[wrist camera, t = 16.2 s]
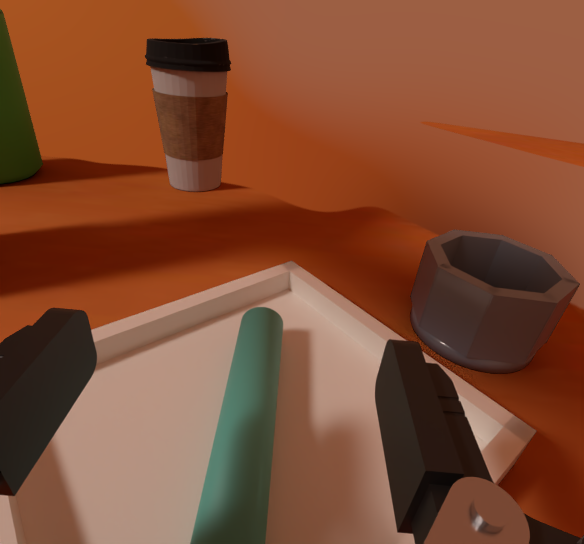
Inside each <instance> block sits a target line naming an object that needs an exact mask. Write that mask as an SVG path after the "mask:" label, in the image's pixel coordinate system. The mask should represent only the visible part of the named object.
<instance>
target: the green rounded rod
mask: <svg viewBox="0 0 584 544" xmlns="http://www.w3.org/2000/svg"><path fill="white" fill-rule="evenodd" d="M282 335H283V320H282V318H281V316H280V315H279V314H278V313H277V312H276V311H274V310H272V309H270V308H266V307H255V308H252V309H250V310H248V311H247V312H245V314H244V315H243V317H242V320H241V324H240V328H239V333H238V337H237V341H236V346H235V350H234V355H233V359H232V363H231V368H230V372H229V376H228V381H227V385H226V389H225V394H224V398H223V403H222V407H221V411H220V416H219V420H218V424H217V429H216V433H215V437H214V442H213V446H212V451H211V455H210V459H209V464H208V468H207V472H206V477H205V481H204V486H203V490H202V494H201V499H200V503H199V507H198V512H197V516H196V520H195V525H194V529H193V534H192V538H191V542H190V544H265V541H266V529H267V516H268V504H269V492H270V480H271V468H272V456H273V444H274V432H275V420H276V407H277V395H278V383H279V371H280V359H281V347H282Z"/></svg>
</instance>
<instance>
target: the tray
mask: <svg viewBox="0 0 584 544" xmlns="http://www.w3.org/2000/svg"><path fill="white" fill-rule="evenodd" d="M255 307H266V308H270V309H272V310H274V311H276V312H277V313H278V314H279V315H280V316H281V318H282V320H283V335H282V347H281V359H280V371H279V383H278V395H277V407H276V420H275V432H274V444H273V456H272V468H271V480H270V492H269V504H268V516H267V529H266V541H265V544H415V541H414V536H413V534H408V533H397V527H396V521H395V515H394V509H393V504H392V498H391V492H390V486H389V480H388V474H387V468H386V462H385V457H384V451H383V445H382V439H381V433H380V427H379V421H378V415H377V409H376V403H375V384H376V378H377V375H378V371H379V367H380V364H381V360H382V357H383V353H384V349H385V346H386V343H387V341H388V340H389V339H392V340H403V341H407V340H405V339H404V338H402V337H401V336H399V335H398V334H396V333H395V332H394V331H392V330H391V329H389V328H388V327H386V326H385V325H384V324H382V323H381V322H379V321H378V320H376V319H375V318H373V317H372V316H371V315H369V314H368V313H366V312H365V311H363V310H362V309H361V308H359V307H358V306H356V305H355V304H353V303H352V302H350V301H349V300H348V299H346V298H345V297H343V296H342V295H340V294H339V293H338V292H336V291H335V290H333V289H332V288H330V287H329V286H327V285H326V284H325V283H323V282H322V281H320V280H319V279H317V278H316V277H315V276H313V275H312V274H310V273H309V272H307V271H306V270H304V269H303V268H302V267H300V266H299V265H297V264H296V263H294V262H293V261H289V262H287V263H284V264H281V265H278V266H275V267H272V268H269V269H266V270H263V271H261V272H258V273H255V274H252V275H249V276H246V277H243V278H240V279H237V280H235V281H232V282H229V283H226V284H223V285H220V286H217V287H214V288H211V289H208V290H206V291H203V292H200V293H197V294H194V295H191V296H188V297H185V298H182V299H180V300H177V301H174V302H171V303H168V304H165V305H162V306H159V307H156V308H153V309H151V310H148V311H145V312H142V313H139V314H136V315H133V316H130V317H127V318H125V319H122V320H119V321H116V322H113V323H110V324H107V325H104V326H101V327H99V328H96V329H93V330H91V332H92V336H93V340H94V344H95V348H96V352H97V363H96V368H95V371H94V373H93V375H92V377H91V379H90V380H89V382H88V383H87V385H86V386H85V388H84V389H83V391H82V393H81V394H80V396H79V397H78V399H77V400H76V402H75V403H74V405H73V407H72V408H71V410H70V411H69V413H68V414H67V416H66V417H65V419H64V421H63V422H62V424H61V425H60V427H59V428H58V430H57V431H56V433H55V434H54V436H53V438H52V439H51V441H50V442H49V444H48V445H47V447H46V448H45V450H44V452H43V453H42V455H41V456H40V458H39V459H38V461H37V462H36V464H35V465H34V467H33V469H32V470H31V472H30V473H29V475H28V476H27V478H26V479H25V481H24V483H23V484H22V486H21V487H20V489H19V490H18V492H17V493H16V495H15V496H5V495H0V544H190V542H191V538H192V534H193V529H194V525H195V520H196V516H197V512H198V507H199V503H200V499H201V494H202V490H203V486H204V481H205V477H206V472H207V468H208V464H209V459H210V455H211V451H212V446H213V442H214V437H215V433H216V429H217V424H218V420H219V416H220V411H221V407H222V403H223V398H224V394H225V389H226V385H227V381H228V376H229V372H230V368H231V363H232V359H233V355H234V350H235V346H236V341H237V337H238V333H239V328H240V324H241V320H242V317H243V315H244V314H245V312H247V311H248V310H250V309H252V308H255ZM423 355H424V358H425V361H426V363H436V364H438V365H439V366H440V367H441V368H442V369H443V370H444V371H445V373H446V374H447V375H448V376H449V377H450V378H451V379H452V381H453V384H454V386H455V389H456V391H457V394H458V396H459V401H461V404H462V406H463V409H464V411H465V417H467V419H468V421H469V424H470V426H471V429H472V431H473V434H474V436H475V439H476V441H477V444H478V446H479V449H480V451H481V453H482V456H483V458H484V461H485V463H486V466H487V468H488V471H489V473H490V476H491V478H492V480H493V482H494V483H495V484H496V485H497V486H498V484H499V483H500V482H501V481H502V479H503V478H504V477H505V476H506V474H507V473H508V472H509V470H510V469H511V468H512V467H513V465H514V464H515V463H516V461H517V460H518V458H519V457H520V455H521V454H522V452H523V451H524V449H525V448H526V446H527V445H528V443H529V442H530V440H531V439H532V437H533V436H534V434H535V433H536V430H535V429H533V428H532V427H530V426H529V425H527V424H526V423H525V422H523V421H522V420H520V419H519V418H517V417H516V416H514V415H513V414H512V413H510V412H509V411H507V410H506V409H504V408H503V407H501V406H500V405H499V404H497V403H496V402H494V401H493V400H491V399H490V398H489V397H487V396H486V395H484V394H483V393H481V392H480V391H478V390H477V389H476V388H474V387H473V386H471V385H470V384H468V383H467V382H466V381H464V380H463V379H461V378H460V377H458V376H457V375H455V374H454V373H453V372H451V371H450V370H448V369H447V368H445V367H444V366H443V365H441V364H440V363H438V362H437V361H435V360H434V359H432V358H431V357H430V356H428V355H427V354H425V353H424V352H423Z"/></svg>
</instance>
